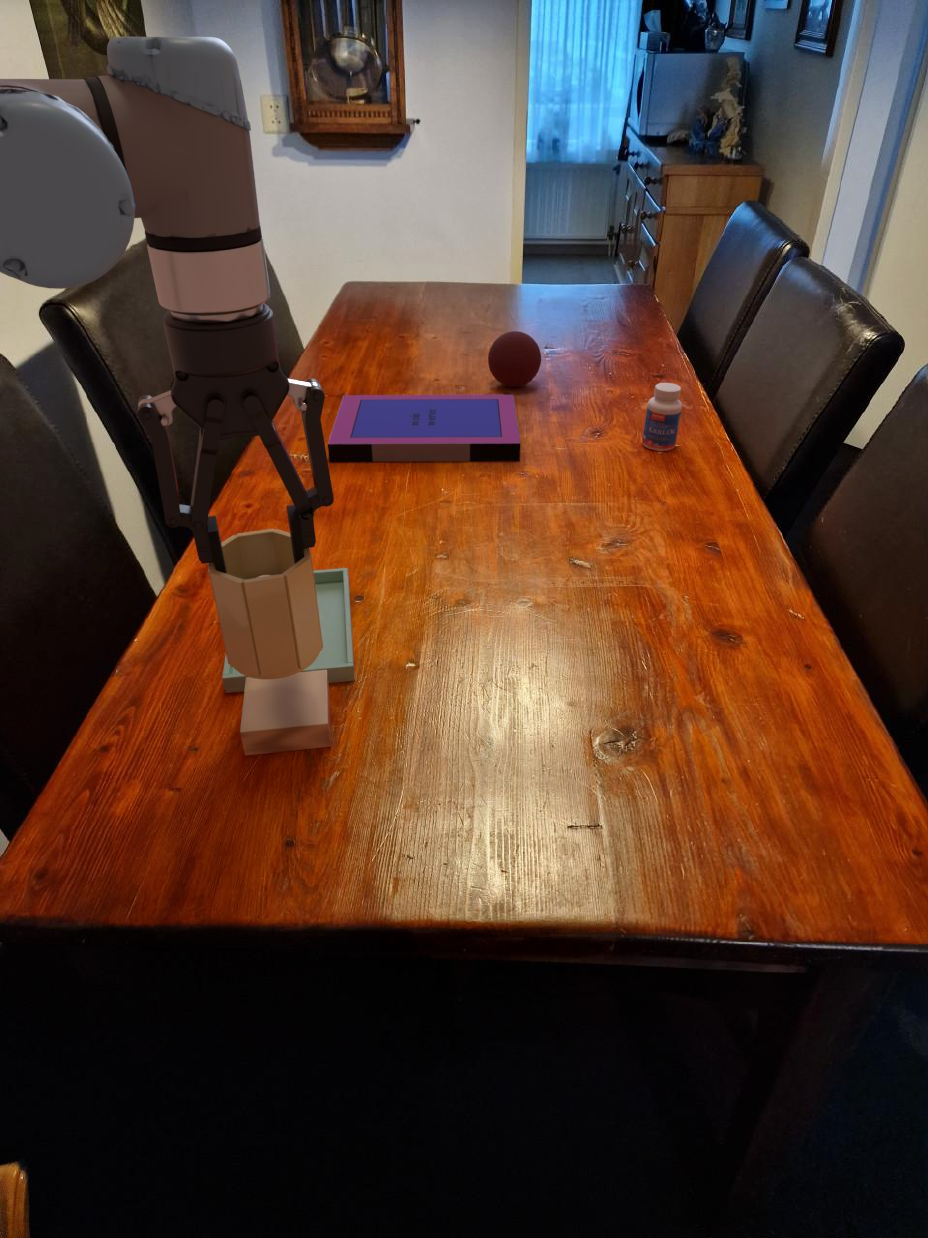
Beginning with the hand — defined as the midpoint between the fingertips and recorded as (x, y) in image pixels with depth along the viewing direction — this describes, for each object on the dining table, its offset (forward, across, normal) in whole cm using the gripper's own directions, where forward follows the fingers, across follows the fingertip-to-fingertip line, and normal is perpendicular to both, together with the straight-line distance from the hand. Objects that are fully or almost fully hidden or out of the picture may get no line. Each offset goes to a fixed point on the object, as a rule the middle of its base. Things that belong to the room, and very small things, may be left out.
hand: (264, 584), depth 70 cm
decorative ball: (+16, -53, -82) cm, 99 cm away
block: (+16, 0, 0) cm, 16 cm away
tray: (+16, -2, -15) cm, 22 cm away
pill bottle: (+16, -66, -49) cm, 84 cm away
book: (+16, -31, -64) cm, 73 cm away
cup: (+7, 0, 0) cm, 7 cm away
